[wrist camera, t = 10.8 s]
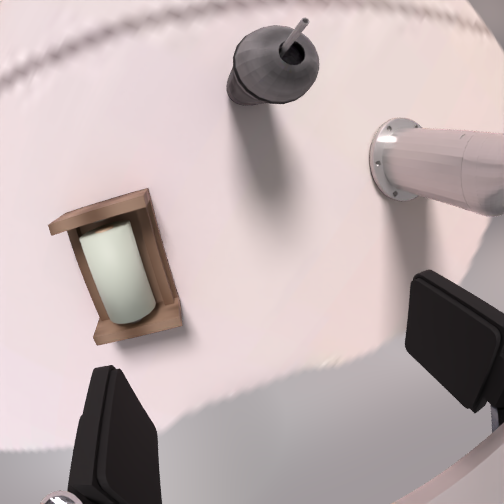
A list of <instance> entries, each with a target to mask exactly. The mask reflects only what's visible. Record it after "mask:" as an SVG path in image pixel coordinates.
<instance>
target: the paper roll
mask: <svg viewBox="0 0 504 504" xmlns="http://www.w3.org/2000/svg"><path fill="white" fill-rule="evenodd" d="M79 239H80V242H81V245H82V248H83V251H84V254H85V257H86V260H87V263H88V266H89V268H90V271H91V274H92V276H93V279H94V282H95V284H96V287H97V289H98V292H99V294H100V297H101V299H102V302H103V304H104V307H105V309H106V311H107V314H108V316H109V318H110V320H111V321H112V322H113V323H117V324H125V323H131V322H134V321H137V320H139V319H141V318H143V317H145V316H146V315H148V314H149V313H150V312H151V311H152V310H153V309H154V307H155V305H156V302H155V299H154V296H153V293H152V290H151V287H150V284H149V282H148V279H147V276H146V273H145V269H144V266H143V263H142V260H141V257H140V254H139V251H138V247H137V244H136V241H135V237H134V234H133V231H132V227H131V224H130V221H129V220H121V221H116V222H112V223H109V224H105V225H102V226H100V227H97V228H95V229H93V230H91V231H89V232H87V233H85V234H83V235H82V236H81V237H80V238H79Z"/></svg>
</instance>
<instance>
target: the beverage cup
mask: <svg viewBox="0 0 504 504" xmlns="http://www.w3.org/2000/svg"><path fill="white" fill-rule="evenodd" d="M308 24H309V20H308V19H307V18H302V19H301V21H300V22H299V23H298V25H297V26H296V28H295V29H292V28H290V27H287V26H278V25H273V26H268V27H263V28H260V29H258V30H256V31H254V32H252V33H250V34H249V35H247V36H245V37H244V38H243V39H242V40H241V42H240V43H239V44H238V45H237V47H236V50H235V53H234V56H233V68H232V70H231V73H230V75H229V78H228V81H227V93H228V95H229V97H230V98H231V99H232V100H233V101H234V102H236V103H237V104H240V105H256V104H261V103H270V104H285V103H289V102H292V101H295V100H297V99H298V98H300V97H301V96H303V95H304V94H305V93H306V92H307V91H308V90H309V89H310V87H311V86H312V84H313V83H314V82H315V80H316V77H317V74H318V70H319V57H318V54H317V51H316V49H315V46H314V45H313V44H312V42H311V41H310V40H309V38H308V37H306V36H305V35H304V34H302V33H301V32H302V31H303V30H304V29H305V27H306V26H307V25H308Z"/></svg>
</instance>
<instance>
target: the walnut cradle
mask: <svg viewBox="0 0 504 504" xmlns="http://www.w3.org/2000/svg"><path fill="white" fill-rule="evenodd" d="M121 220H129V221H130V224H131V227H132V231H133V234H134V237H135V241H136V244H137V247H138V251H139V254H140V257H141V260H142V263H143V266H144V269H145V273H146V276H147V279H148V282H149V284H150V287H151V290H152V293H153V296H154V299H155V302H156V305H155V307H154V309H153V310H152V311H151V312H150V313H149V314H148V315H146V316H145V317H143V318H141V319H139V320H137V321H134V322H131V323H125V324H117V323H113V322H112V321H111V320H110V318H109V316H108V314H107V311H106V309H105V307H104V304H103V302H102V299H101V297H100V294H99V292H98V289H97V287H96V284H95V282H94V279H93V276H92V274H91V271H90V268H89V266H88V263H87V260H86V257H85V254H84V251H83V248H82V245H81V242H80V239H79V238H80V237H81V236H82V235H83V234H85V233H87V232H89V231H91V230H93V229H95V228H97V227H100V226H102V225H105V224H109V223H112V222H116V221H121ZM48 226H49V230H50V233H51V236H52V235H55V234H58V233H61V232H64V231H67V232H68V235H69V239H70V242H71V245H72V248H73V251H74V253H75V256H76V259H77V262H78V265H79V267H80V270H81V273H82V275H83V278H84V281H85V283H86V286H87V288H88V291H89V293H90V296H91V298H92V301H93V303H94V305H95V308H96V310H97V312H98V315H99V317H100V318H99V321H98V324H97V327H96V330H95V333H94V336H93V339H94V341H95V343H96V345H97V346H98V345H102V344H107V343H112V342H116V341H121V340H125V339H129V338H134V337H138V336H142V335H147V334H151V333H155V332H159V331H163V330H167V329H171V328H175V327H179V326H182V316H181V305H180V299H179V296H178V293H177V290H176V287H175V284H174V280H173V277H172V274H171V270H170V267H169V264H168V260H167V257H166V253H165V250H164V246H163V243H162V239H161V236H160V232H159V228H158V225H157V221H156V217H155V213H154V209H153V205H152V202H151V198H150V193H149V189H148V188H146V189H143V190H139V191H135V192H132V193H128V194H125V195H121V196H118V197H115V198H111V199H108V200H105V201H102V202H98V203H95V204H92V205H89V206H86V207H83V208H79V209H76V210H73V211H70V212H67V213H65V214H63V215H62V216H60V217H59V218H58V219H56V220H55V221H53V222H52V223H50V224H49V225H48Z"/></svg>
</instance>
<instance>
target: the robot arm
mask: <svg viewBox="0 0 504 504" xmlns="http://www.w3.org/2000/svg"><path fill="white" fill-rule="evenodd" d="M370 167H371V171H372V175H373V178H374V180H375V182H376V184H377V186H378V187H379V189H380V190H381V191H382V192H383V193H384V194H385V195H387V196H388V197H390V198H392V199H394V200H398V201H409V200H412V199H414V198H416V197H417V196H423V197H426V198H430V199H433V200H436V201H440V202H443V203H446V204H450V205H453V206H456V207H459V208H462V209H465V210H468V211H472V212H475V213H478V214H481V215H484V216H489V217H495V216H500V215H503V214H504V134H502V133H490V132H479V131H467V130H451V129H429V128H422V127H421V126H420V125H419V124H418V123H416V122H415V121H413V120H411V119H408V118H394V119H390V120H388V121H387V122H385V123H384V124H383V125H382V126H381V127H380V128H379V129H378V131H377V132H376V134H375V136H374V138H373V141H372V144H371V149H370ZM405 347H406V350H407V352H408V353H409V354H410V355H411V356H412V357H413V358H414V359H416V360H417V361H418V362H419V363H420V364H421V365H422V366H423V367H424V368H425V369H426V370H427V371H428V372H429V373H430V374H431V375H432V376H433V377H434V378H435V379H436V380H437V381H438V382H439V383H440V384H442V386H444V387H445V388H446V389H447V390H448V391H449V392H450V393H451V394H452V395H453V396H454V397H455V398H456V399H457V400H458V401H459V402H460V403H461V404H462V405H463V406H464V407H465V408H467V409H468V408H470V409H471V410H472V411H473V412H474V413H476V412H477V411H479V410H480V409H481V408H482V407H484V406H485V404H486V402H487V401H488V402H489V403H490V404H491V418H492V434H491V435H490V436H488V437H487V438H486V439H485V440H484V441H482V442H481V443H480V444H479V445H478V446H476V447H475V448H474V449H473V450H471V451H470V452H469V453H468V454H466V455H465V456H464V457H462V458H461V459H460V460H458V461H457V462H456V463H454V464H453V465H452V466H451V467H449V468H448V469H446V470H445V471H443V472H442V473H440V474H439V475H437V476H436V477H435V478H433V479H432V480H430V481H428V482H427V483H425V484H424V485H422V486H420V487H419V488H417V489H416V490H414V491H412V492H411V493H409V494H408V495H405V496H404V497H402V498H400V499H398V500H397V501H395V502H393V503H391V504H504V313H502V312H500V311H499V310H497V309H496V308H494V307H493V306H491V305H489V304H488V303H486V302H485V301H483V300H481V299H480V298H478V297H476V296H475V295H473V294H472V293H470V292H468V291H466V290H465V289H463V288H462V287H460V286H458V285H456V284H455V283H453V282H451V281H450V280H448V279H446V278H444V277H443V276H441V275H439V274H437V273H436V272H434V271H432V270H426V271H423V272H421V273H418V274H416V275H415V276H414V278H413V281H412V282H411V285H410V299H409V311H408V321H407V330H406V338H405ZM40 504H162V499H161V487H160V474H159V458H158V438H157V431H156V428H155V426H154V424H153V422H152V421H151V419H150V418H149V416H148V415H147V413H146V411H145V410H144V408H143V407H142V405H141V403H140V402H139V400H138V398H137V397H136V395H135V393H134V391H133V390H132V388H131V386H130V384H129V383H128V381H127V379H126V377H125V375H124V374H123V372H122V370H121V369H116V368H115V367H114V366H113V365H109V366H104V367H98V368H95V369H94V370H93V372H92V376H91V380H90V384H89V388H88V393H87V397H86V401H85V406H84V410H83V415H82V416H81V417H80V420H79V424H78V429H77V434H76V439H75V445H74V450H73V456H72V462H71V469H70V475H69V483H68V491H61V490H60V491H54V492H52V493H50V494H48V495H46V496H45V497H44V498H43V499H42V501H41V502H40Z"/></svg>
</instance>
